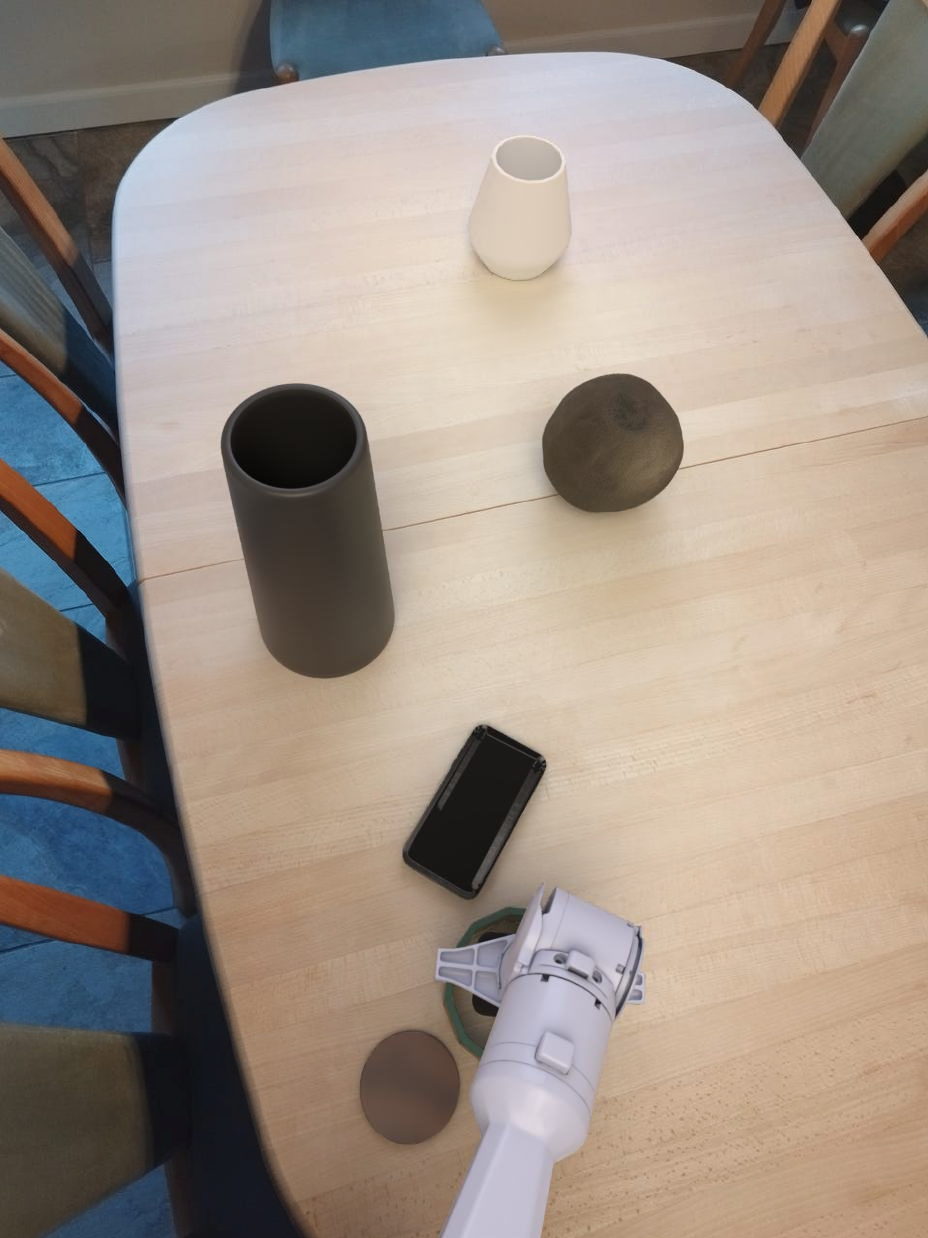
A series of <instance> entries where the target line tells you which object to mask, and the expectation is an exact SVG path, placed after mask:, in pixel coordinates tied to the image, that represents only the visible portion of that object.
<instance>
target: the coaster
mask: <svg viewBox="0 0 928 1238" xmlns="http://www.w3.org/2000/svg"><path fill="white" fill-rule="evenodd" d="M460 1088H461V1085H460V1075H459V1070H458V1067H457V1064H456V1061H455V1059H454V1057H453V1055H452V1054H451V1052H450V1051H449V1050H448V1049H447V1047H446V1046H445V1045H444V1044H443V1043H442V1042H441V1041H440V1040H438V1039H437V1038H435V1037H434V1036H432V1035H430V1034H428V1033H424V1032H421V1031H415V1030H414V1031H413V1030H411V1031H410V1030H409V1031H402V1032H398V1033H395V1034H392V1035H391V1036H388V1037H387V1038H385V1039H384V1040H382V1041H381V1042H380V1043H379V1044H378V1045H377V1046H376V1047H374V1049H373V1050H372V1052H370V1054H369V1056H368V1058H367V1059H366V1061H365V1063H364V1066H363V1069H362V1072H361V1076H360V1081H359V1098H360V1103H361V1107H362V1111H363V1112H364V1115H365V1118H366V1120H367V1121H368V1123H369V1124H370V1125H371V1127H372V1128H373V1129H374V1131H376V1132H377V1133H378V1135H380V1136H381V1137H382V1138H385V1139H386V1140H387V1141H390V1142H393V1143H395V1144H400V1145H418V1144H421V1143H424V1142H427V1141H429V1140H431V1139H432V1138H434V1137H436V1136H437V1135H438V1134H439V1133H441V1132H442V1131H443V1130H444V1129H445V1128H446V1126H447V1125H448V1124H449V1123H450V1121H451V1119H452V1118H453V1116H454V1114H455V1111H456V1109H457V1105H458V1102H459V1097H460V1091H461V1089H460Z"/></svg>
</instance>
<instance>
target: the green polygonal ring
mask: <svg viewBox="0 0 928 1238" xmlns="http://www.w3.org/2000/svg"><path fill="white" fill-rule="evenodd" d="M526 909H527V908H525V907H516V906H506V907H503V908H502V909H499V910H497V911H495V912H493V913H490V914H488V915H486V916H484V917H482V918H480V919H478V920H475V921H473V922H472V923H471V924H470V925H469V927H468V928H467V930H466V932H465V933H464V934H463V936H462V937H461V938H460V940H459V942H458V943H457V944H456V946H455V948H454V949H456V948H462V947H467V946H469V943H470V942H471V941H472V939H473V937H475V936H476V935H478V934H480V933H483V932H484V931H485V932H486V931H487V930H489V929H491V928H493V927H495V926H498V925H500V924H502V923H504V922H505V923H506V922H507V923H513V924H520V923H521V920H522V918H523V916H524V913H525V911H526ZM541 911H543V909H541ZM454 985H455V984H452V983H449V982H444V985H443V994H442V995H443V996H442V1006H443V1008H444V1011H445V1014H446V1017H447V1018H448V1021H449V1023H450V1026H451V1029H452V1031H453V1034H454V1036H455V1039H456V1042H457V1043H458V1044H459V1045H460V1046H461V1047H462V1048H464V1050H466V1051H467V1052H468V1053H469V1054H471V1055H472V1056H473V1057H475V1058H476V1059H477V1060H478V1061H480V1060H481V1057H482V1055H483V1052H484V1049H483V1048H482V1047H481V1046H479V1045H478V1043H476V1042H475V1041H473V1040H472V1039H471V1038H470V1037H468V1035H467V1033H466V1030H465V1028H464V1024H463V1022H462V1021H461V1018H460V1015H459V1012H458V1010H457V1008H456V1005H455V1002H454V1000H453V996H454V995H453V994H454Z"/></svg>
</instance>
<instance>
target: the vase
mask: <svg viewBox="0 0 928 1238" xmlns="http://www.w3.org/2000/svg"><path fill="white" fill-rule="evenodd" d="M220 437H221V438H220V454H221V458H222V463H223V464H222V465H223V469H224V473H225V478H226V482H227V487H228V491H229V497H230V501H231V506H232V510H233V514H234V519H235V524H236V528H237V532H238V533H237V534H238V537H239V538H238V539H239V542H240V546H241V551H242V556H243V560H244V561H243V562H244V564H245V570H246V572H247V573H246V574H247V578H248V583H249V588H250V592H251V597H252V601H253V604H254V610H255V615H256V618H257V623H258V627H259V631H260V635H261V638H262V640H263V643H264V645H265V647H266V649H267V651H268V652H269V653H270V655H271V656H272V657H273V658H274V659H275V660H276V661H277V662H278V663H279V664H280V665H282V666H283V667H284V668H286V669H288V670H289V671H292V672H294V673H295V674H298V675H301V676H304V677H308V678H313V679H336V678H341V677H344V676H348V675H351V674H354V673H355V672H358V671H360V670H361V669H364V668H365V667H367V666H368V665H370V664H371V663H373V661H374V660H375V659H377V658H378V657H379V655H380V654H381V653H382V652H383V651H384V649H385V648H386V646H387V645H388V643H389V640H390V639H391V637H392V635H393V634H392V633H393V630H394V626H395V605H394V596H393V591H392V584H391V578H390V571H389V565H388V558H387V552H386V545H385V538H384V532H383V525H382V519H381V513H380V506H379V499H378V493H377V492H378V491H377V487H376V480H375V474H374V469H373V462H372V454H371V450H370V443H369V438H368V437H369V436H368V431H367V427H366V424H365V421H364V419H363V417H362V415H361V414H360V412H359V411H358V409H357V408H356V407H355V405H353V404H352V403H351V402H350V401H349V400H348V399H347V398H345V397H344V396H342V395H341V394H339V393H337V392H336V391H333V390H332V389H329V388H326V387H323V386H320V385H316V384H311V383H302V382H301V383H299V382H298V383H297V382H295V383H293V382H291V383H283V384H278V385H273V386H270V387H266V388H264V389H261V390H259V391H257V392H255V393H253V394H252V395H249V397H247V398H245V399H244V400H243V401H242V402H241V403H239V404H238V405H237V406H236V407H235V408H234V409H233V411H232V412H230V415H229V416H228V417H227V419H226V421H225V423H224V425H223V428H222V432H221V436H220Z"/></svg>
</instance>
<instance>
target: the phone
mask: <svg viewBox="0 0 928 1238" xmlns="http://www.w3.org/2000/svg"><path fill="white" fill-rule="evenodd" d="M546 770H547V760H546V758H545V757H544V756H543V754H541V753H540V752H537V751H536V750H534V749H532V748H530V747H528V746H527V745H525V744H523V743H522V742H520V741H518V740H516V739H514V738H512V737H511V736H509V735H507V734H505V733H504V732H501V731H499V730H498V729H496V728H494V727H492V726H491V725H488V724H479V725H477V726H476V727H475V728H474V729H473V730H472V731H471V733H470V735H469V736H468V738H467V739H466V741H465V743H464V744H463V747H461V749H460V751H459V752H458V754H457V756H456V758H454V760H453V762H452V764H451V765H450V768H449V770H448V772H447V774H446V775H445V777H444V778H443V780H442V781H441V783H440V785H439V787H438V789H437V790H436V792H435V793H434V795H433V797H432V798H431V801H430V802H429V803H428V805H427V807H426V809H425V810H424V812H423V814H422V816H421V817H420V818H419V821H418V822H417V824H416V825H415V827H414V829H413V831H412V832H411V834H410V836H409V837H408V838H407V840H406V842H405V844H404V845H403V847H402V861H403V862H404V864H405V865H406V866H407V867H408V868H410V869H412V870H414V871H415V872H417V873H419V874H420V875H422V876H424V877H425V878H426V879H429V880H430V881H432V882H434V883H436V884H437V885H439V886H440V887H442V888H444V889H445V890H447V891H449V892H450V893H452V894H454V895H455V896H456V897H459V898H461V899H462V900H465V901H471V900H473V899H475V898H477V897H478V896H479V894H480V892H481V891H482V889H483V887H484V885H485V883H486V881H487V879H488V877H489V876H490V874H491V872H492V871H493V868H494V867H495V865H496V863H497V861H498V859H499V858H500V856H501V854H502V852H503V849H504V848H505V846H506V844H507V843H508V841H509V839H510V837H511V835H512V834H513V831H514V830H515V828H516V827H517V824H518V822H519V820H520V819H521V817H522V815H523V813H524V811H525V809H526V808H527V806H528V804H529V802H530V800H531V798H532V796H533V795H534V793H535V791H536V789H537V787H538V786H539V783H540V782H541V780H542V778H543V776H544V774H545V771H546Z"/></svg>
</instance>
